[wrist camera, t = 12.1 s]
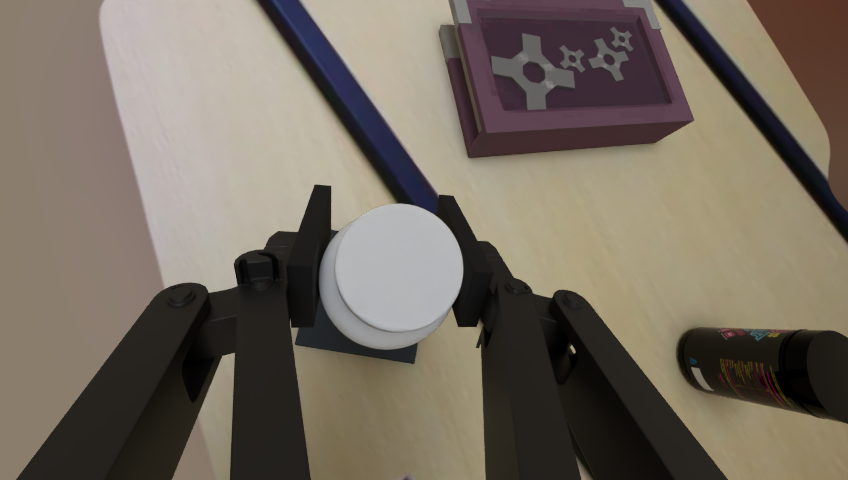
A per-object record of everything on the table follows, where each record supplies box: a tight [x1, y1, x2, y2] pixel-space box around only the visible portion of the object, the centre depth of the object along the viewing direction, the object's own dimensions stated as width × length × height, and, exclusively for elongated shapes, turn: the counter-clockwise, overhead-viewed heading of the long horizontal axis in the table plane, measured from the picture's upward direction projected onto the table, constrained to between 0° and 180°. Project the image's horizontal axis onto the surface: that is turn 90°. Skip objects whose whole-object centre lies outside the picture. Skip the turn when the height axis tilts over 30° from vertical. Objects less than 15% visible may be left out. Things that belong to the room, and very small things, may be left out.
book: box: [439, 0, 694, 158], centre depth 36 cm, size 25×16×5 cm, turn 101°
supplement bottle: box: [319, 204, 463, 350], centre depth 14 cm, size 5×5×10 cm
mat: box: [295, 230, 418, 364], centre depth 29 cm, size 10×10×1 cm
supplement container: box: [679, 327, 848, 424], centre depth 30 cm, size 7×7×10 cm
